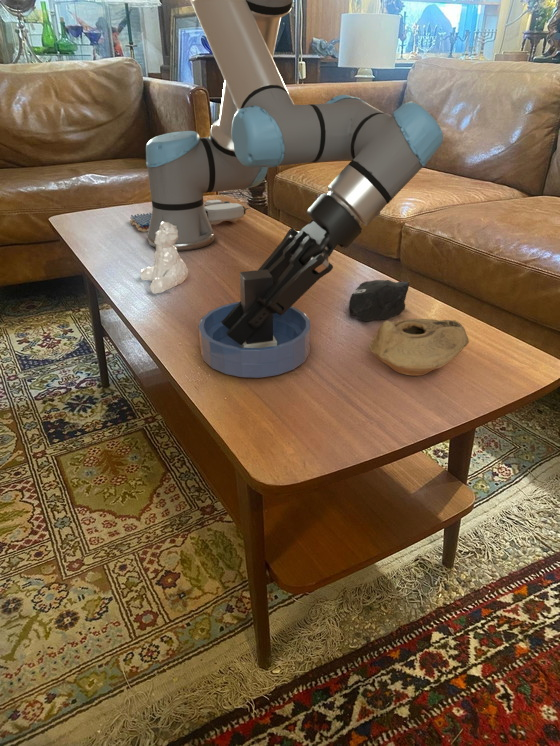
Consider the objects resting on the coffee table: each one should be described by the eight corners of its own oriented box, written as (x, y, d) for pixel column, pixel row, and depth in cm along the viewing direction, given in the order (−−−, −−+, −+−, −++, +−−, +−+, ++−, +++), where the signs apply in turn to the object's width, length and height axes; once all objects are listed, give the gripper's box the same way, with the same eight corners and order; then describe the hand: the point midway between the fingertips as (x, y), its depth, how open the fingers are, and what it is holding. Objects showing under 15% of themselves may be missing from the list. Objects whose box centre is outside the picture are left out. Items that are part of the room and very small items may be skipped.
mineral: (399, 330, 90) (403, 297, 87) (345, 323, 92) (347, 291, 89) (406, 306, 98) (410, 275, 95) (357, 300, 100) (359, 270, 97)
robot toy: (189, 218, 148) (207, 229, 136) (187, 201, 146) (205, 210, 134) (231, 213, 153) (252, 223, 141) (230, 196, 151) (251, 204, 139)
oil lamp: (480, 366, 80) (491, 317, 76) (405, 397, 73) (412, 344, 69) (426, 336, 88) (433, 290, 84) (353, 362, 81) (357, 313, 77)
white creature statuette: (138, 278, 109) (130, 218, 103) (179, 270, 113) (174, 212, 106) (153, 295, 102) (145, 231, 96) (196, 286, 106) (191, 225, 99)
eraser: (244, 357, 80) (241, 280, 74) (239, 346, 83) (235, 271, 77) (277, 353, 81) (276, 277, 75) (270, 342, 84) (269, 267, 78)
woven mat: (167, 217, 146) (166, 209, 145) (180, 227, 138) (180, 219, 137) (128, 222, 142) (127, 214, 141) (140, 233, 134) (139, 225, 133)
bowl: (194, 335, 88) (191, 307, 86) (291, 322, 92) (291, 295, 90) (211, 388, 75) (209, 357, 72) (324, 371, 79) (325, 341, 76)
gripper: (386, 245, 70) (263, 374, 75) (340, 212, 83) (238, 324, 88) (350, 206, 66) (222, 345, 71) (308, 178, 79) (202, 297, 84)
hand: (231, 333), depth 79 cm, fingers closed on eraser, 3 cm apart
